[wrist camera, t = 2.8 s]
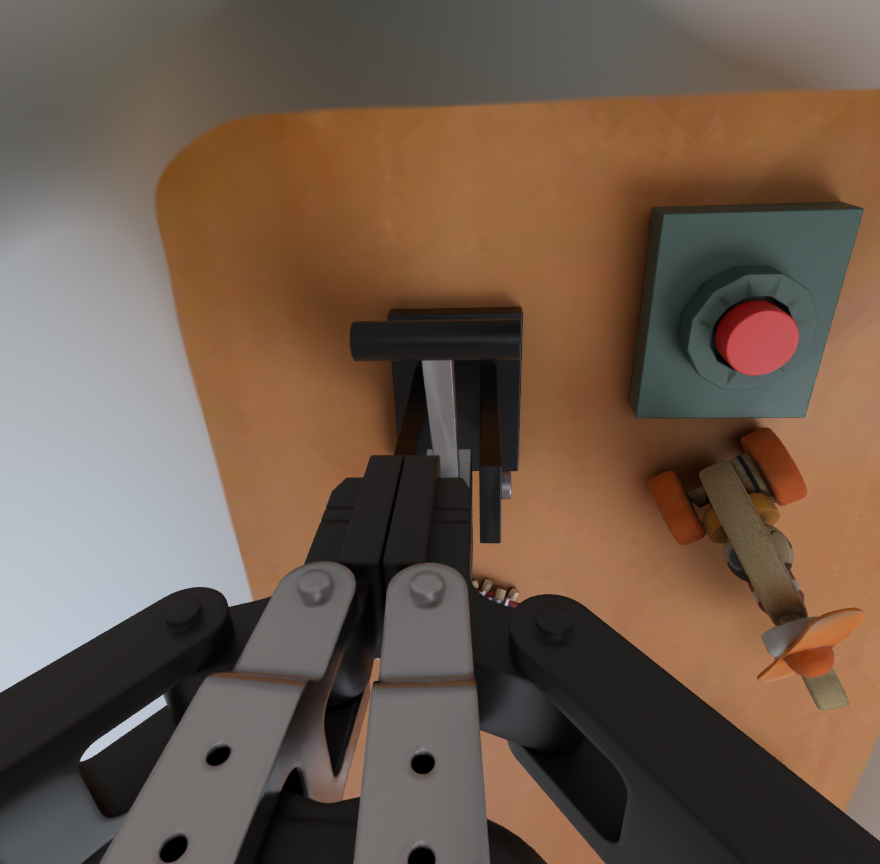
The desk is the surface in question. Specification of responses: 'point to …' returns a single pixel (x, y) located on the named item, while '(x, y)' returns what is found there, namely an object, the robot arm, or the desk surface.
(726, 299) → the button block
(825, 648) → the toy helicopter
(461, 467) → the lever
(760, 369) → the button
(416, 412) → the bracket
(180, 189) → the desk surface
